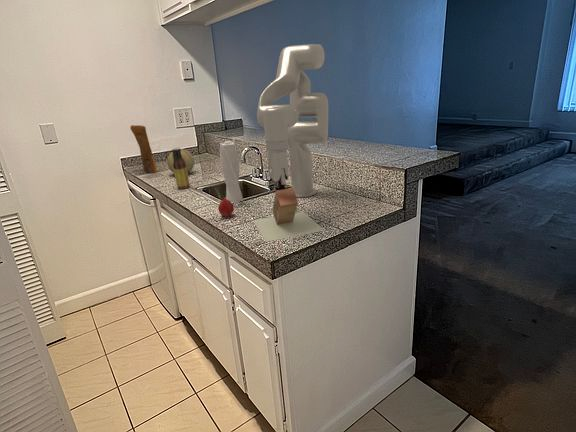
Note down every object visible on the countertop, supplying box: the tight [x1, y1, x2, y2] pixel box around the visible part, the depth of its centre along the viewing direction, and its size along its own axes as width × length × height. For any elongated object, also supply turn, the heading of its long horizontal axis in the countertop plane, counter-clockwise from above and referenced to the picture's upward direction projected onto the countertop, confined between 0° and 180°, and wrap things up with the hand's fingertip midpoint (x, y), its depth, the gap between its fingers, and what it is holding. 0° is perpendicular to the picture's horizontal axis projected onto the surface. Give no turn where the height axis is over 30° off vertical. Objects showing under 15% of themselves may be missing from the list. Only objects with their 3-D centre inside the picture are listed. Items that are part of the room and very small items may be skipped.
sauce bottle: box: [171, 147, 190, 190], centre depth 177 cm, size 7×6×20 cm
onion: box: [218, 197, 235, 218], centre depth 136 cm, size 6×6×8 cm
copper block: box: [271, 187, 299, 225], centre depth 124 cm, size 6×6×12 cm
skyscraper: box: [219, 137, 244, 206], centre depth 149 cm, size 8×8×28 cm
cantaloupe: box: [166, 148, 195, 174], centre depth 205 cm, size 15×15×15 cm
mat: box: [252, 211, 325, 243], centre depth 126 cm, size 20×20×1 cm
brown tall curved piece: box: [129, 124, 158, 174], centre depth 215 cm, size 7×19×28 cm, turn 39°
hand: (280, 197), depth 126 cm, fingers closed
